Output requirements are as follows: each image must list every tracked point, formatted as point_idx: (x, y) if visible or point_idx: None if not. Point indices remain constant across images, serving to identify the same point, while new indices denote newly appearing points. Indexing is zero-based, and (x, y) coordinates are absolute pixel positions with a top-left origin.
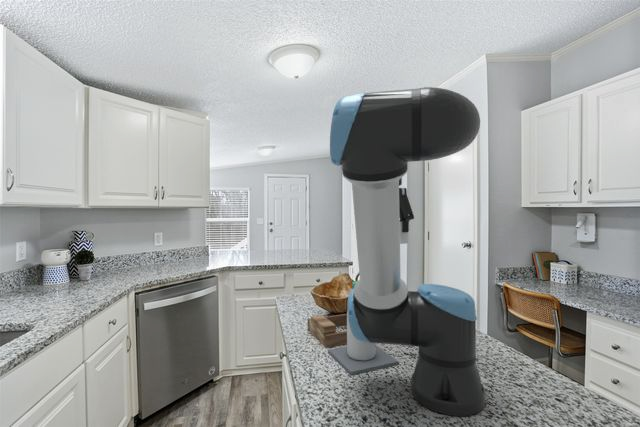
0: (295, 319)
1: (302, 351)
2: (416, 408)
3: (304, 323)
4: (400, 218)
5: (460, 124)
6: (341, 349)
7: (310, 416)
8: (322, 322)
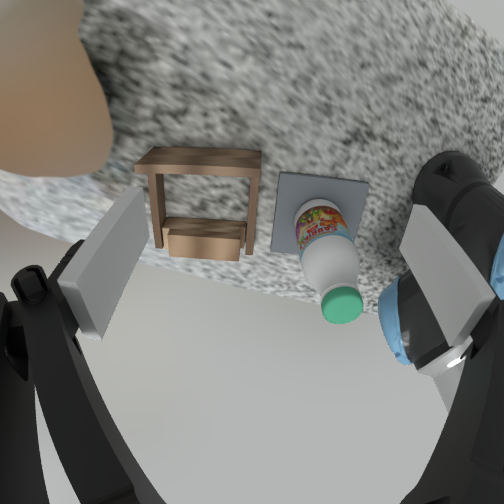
0: None
1: (246, 276)
2: None
3: None
4: (469, 360)
5: None
6: (281, 234)
7: (377, 313)
8: (212, 253)
